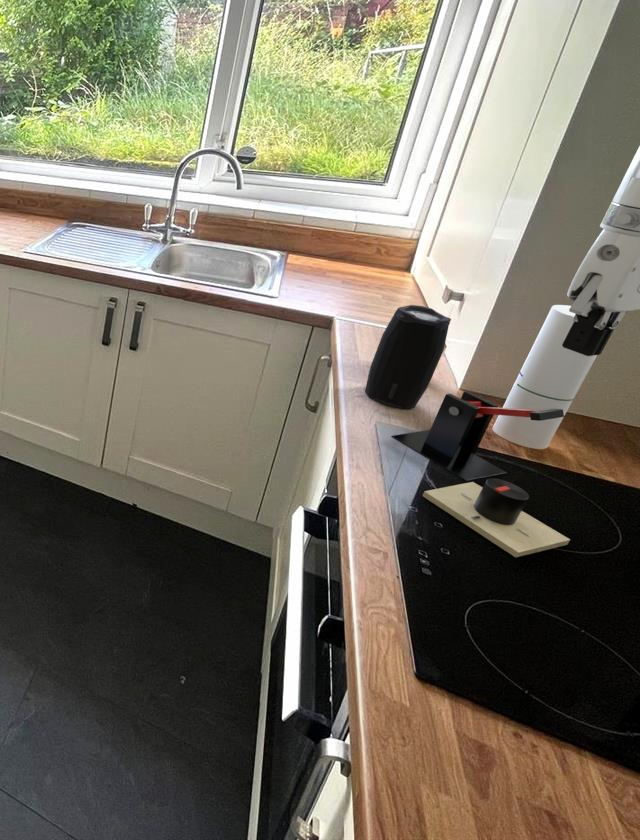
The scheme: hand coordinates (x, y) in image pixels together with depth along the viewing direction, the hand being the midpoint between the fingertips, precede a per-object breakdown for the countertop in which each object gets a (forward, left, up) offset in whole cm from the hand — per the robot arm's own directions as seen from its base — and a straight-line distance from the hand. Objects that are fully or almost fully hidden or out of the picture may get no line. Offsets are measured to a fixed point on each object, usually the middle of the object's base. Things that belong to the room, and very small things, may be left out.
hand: (580, 350), depth 80 cm
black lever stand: (+9, 0, -25) cm, 27 cm away
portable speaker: (+25, -8, -25) cm, 36 cm away
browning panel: (-4, +10, -25) cm, 27 cm away
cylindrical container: (+10, -19, -25) cm, 33 cm away
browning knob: (-4, +10, -23) cm, 25 cm away
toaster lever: (+4, 0, -14) cm, 15 cm away
